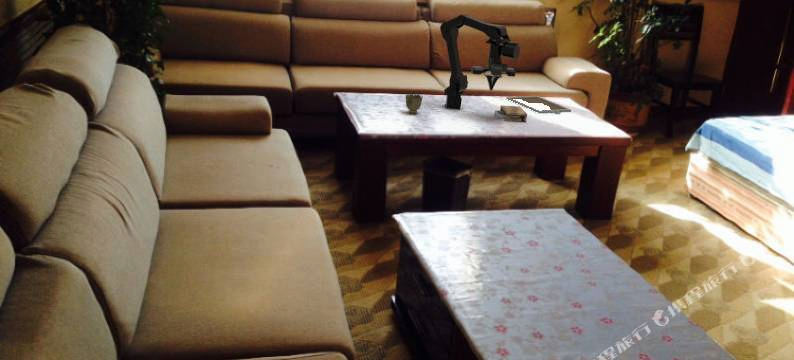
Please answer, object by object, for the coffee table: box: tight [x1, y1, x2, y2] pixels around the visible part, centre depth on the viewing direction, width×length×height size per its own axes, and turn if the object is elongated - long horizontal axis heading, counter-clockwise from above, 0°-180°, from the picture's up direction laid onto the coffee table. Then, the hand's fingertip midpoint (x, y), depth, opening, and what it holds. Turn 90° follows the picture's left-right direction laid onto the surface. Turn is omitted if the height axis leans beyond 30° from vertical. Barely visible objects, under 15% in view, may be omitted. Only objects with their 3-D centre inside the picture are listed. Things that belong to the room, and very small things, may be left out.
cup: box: [405, 93, 424, 115], centre depth 285 cm, size 8×7×8 cm
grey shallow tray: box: [493, 109, 520, 120], centre depth 291 cm, size 10×8×2 cm
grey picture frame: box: [505, 95, 572, 115], centre depth 317 cm, size 19×2×30 cm
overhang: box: [499, 105, 528, 123], centre depth 291 cm, size 9×13×4 cm
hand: (490, 90), depth 286 cm, fingers closed
